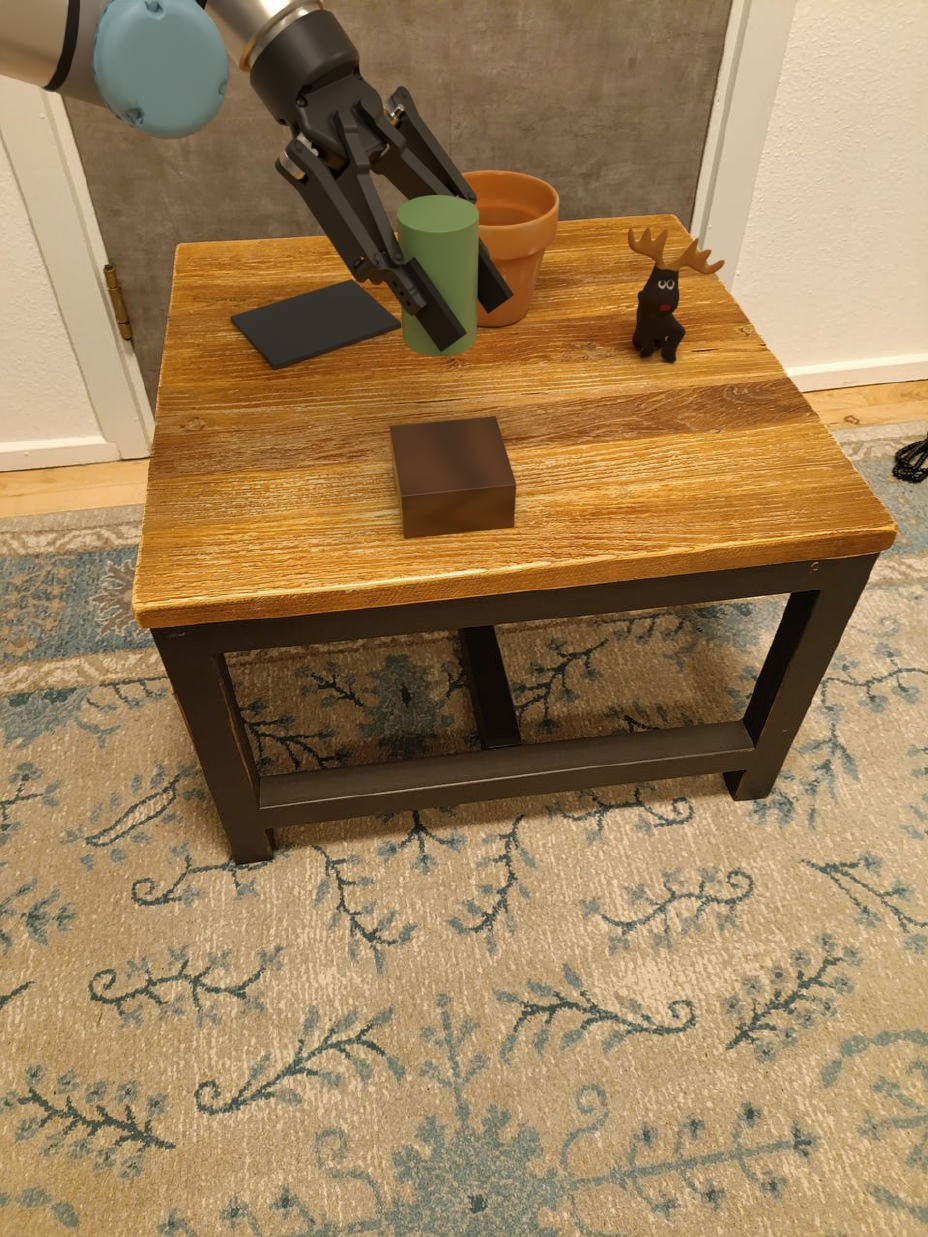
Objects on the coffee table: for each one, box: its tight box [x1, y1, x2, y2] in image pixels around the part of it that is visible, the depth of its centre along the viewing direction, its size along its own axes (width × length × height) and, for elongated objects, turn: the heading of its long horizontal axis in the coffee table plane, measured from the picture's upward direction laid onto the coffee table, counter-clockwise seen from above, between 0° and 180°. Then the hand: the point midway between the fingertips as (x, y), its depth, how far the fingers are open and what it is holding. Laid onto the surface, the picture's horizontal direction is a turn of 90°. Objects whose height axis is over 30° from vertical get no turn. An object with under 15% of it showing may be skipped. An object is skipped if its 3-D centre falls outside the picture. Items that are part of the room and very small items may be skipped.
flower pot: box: [457, 169, 561, 328], centre depth 101 cm, size 14×14×13 cm
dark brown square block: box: [389, 415, 517, 539], centre depth 82 cm, size 10×10×5 cm
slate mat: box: [229, 278, 402, 371], centre depth 103 cm, size 16×12×1 cm
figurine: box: [627, 227, 726, 363], centre depth 94 cm, size 11×7×15 cm
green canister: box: [395, 195, 479, 358], centre depth 68 cm, size 6×6×10 cm
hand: (477, 322), depth 69 cm, fingers closed on green canister, 6 cm apart
